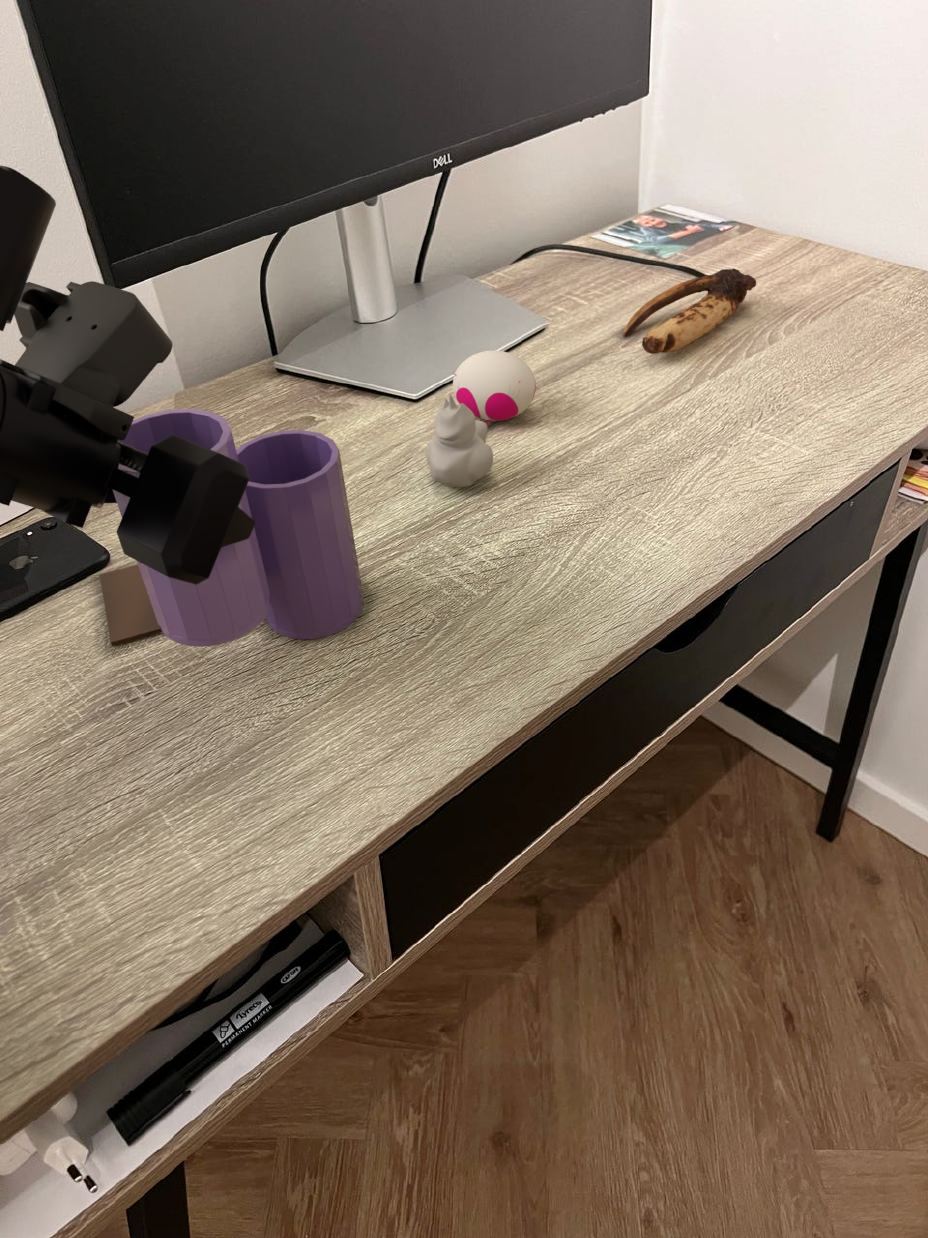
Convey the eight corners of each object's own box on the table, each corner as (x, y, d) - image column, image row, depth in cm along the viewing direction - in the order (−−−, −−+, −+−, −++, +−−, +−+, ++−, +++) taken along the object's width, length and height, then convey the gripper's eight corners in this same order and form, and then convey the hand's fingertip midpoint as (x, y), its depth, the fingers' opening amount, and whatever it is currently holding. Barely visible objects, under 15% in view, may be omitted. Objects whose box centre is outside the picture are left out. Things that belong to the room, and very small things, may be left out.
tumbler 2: (277, 651, 65) (238, 498, 57) (255, 592, 70) (217, 445, 62) (375, 622, 67) (351, 470, 59) (347, 567, 72) (322, 420, 64)
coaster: (112, 646, 66) (110, 642, 66) (100, 578, 72) (99, 574, 72) (234, 612, 68) (232, 608, 68) (213, 548, 74) (211, 544, 74)
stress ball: (453, 450, 90) (427, 415, 84) (479, 373, 91) (455, 333, 85) (529, 461, 87) (507, 426, 81) (554, 382, 88) (535, 341, 82)
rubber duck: (413, 488, 79) (402, 399, 74) (456, 451, 83) (449, 363, 78) (469, 505, 77) (463, 413, 72) (511, 465, 81) (508, 376, 76)
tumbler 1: (167, 659, 57) (107, 484, 50) (152, 594, 62) (95, 425, 55) (282, 627, 59) (241, 453, 51) (258, 565, 64) (217, 398, 56)
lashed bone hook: (686, 294, 107) (592, 352, 96) (689, 250, 104) (593, 305, 93) (766, 309, 101) (675, 372, 91) (771, 264, 99) (679, 323, 88)
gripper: (164, 289, 39) (380, 423, 52) (-77, 219, 48) (159, 347, 62) (59, 549, 39) (300, 615, 53) (-160, 429, 48) (93, 511, 62)
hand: (208, 510), depth 57 cm, fingers closed on tumbler 1, 7 cm apart
